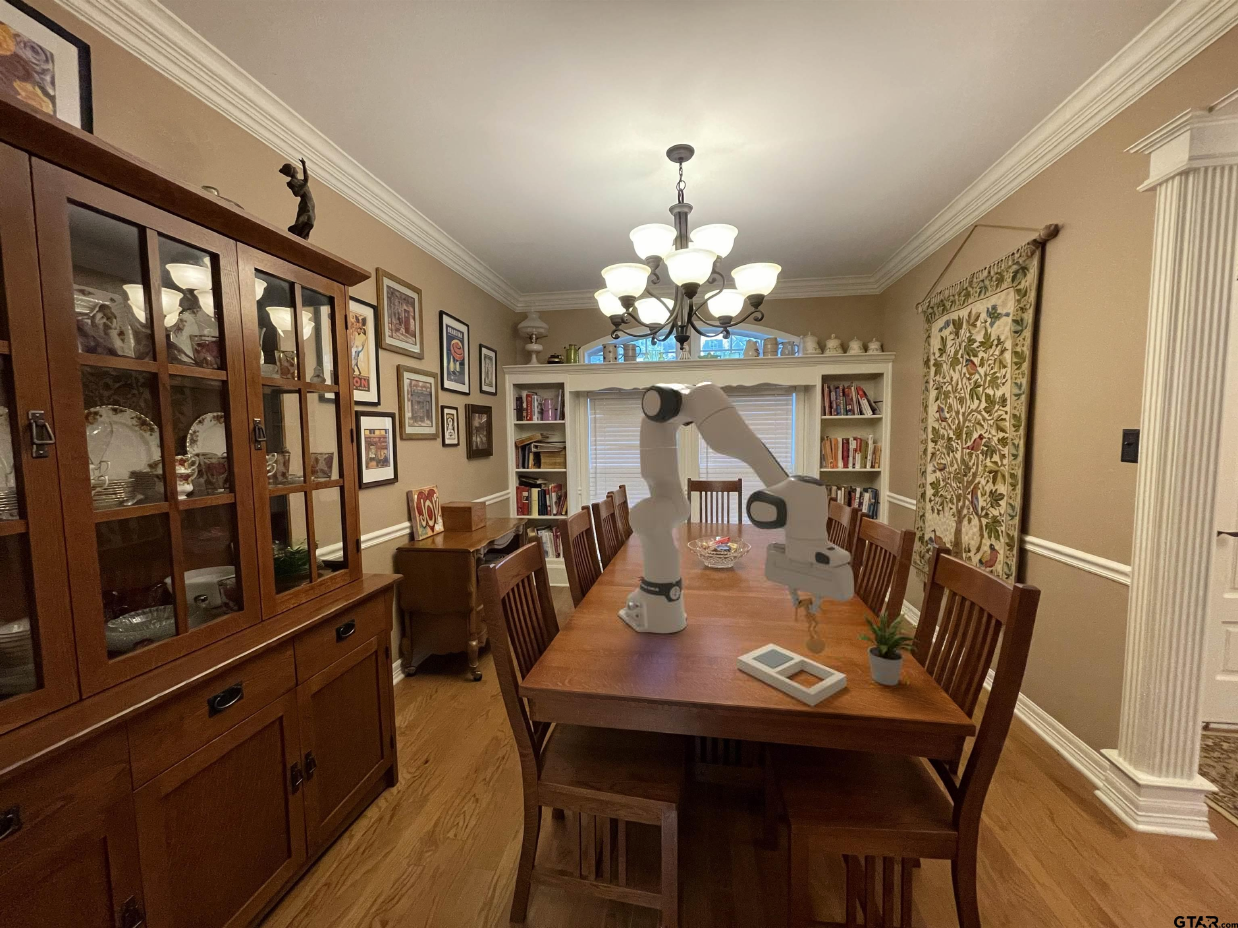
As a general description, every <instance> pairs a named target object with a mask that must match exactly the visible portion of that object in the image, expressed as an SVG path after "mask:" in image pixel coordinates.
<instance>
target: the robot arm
mask: <svg viewBox="0 0 1238 928" xmlns="http://www.w3.org/2000/svg"><path fill="white" fill-rule="evenodd" d="M641 409H642V410H641V411H642V413H643V416H642V419H641V422H640V429H639V458H640V459H639V461H640V462H639V466H640V476H641V477H642V479H643V480H644V481H645V483H646V485H647V487H648V490H649V494H650V496H649V497H645V498H642V499H640V500H639V501H638V502H636V503H635V504H634V505H633V506H632V507H630V510H629V511H628V523H629V527H630V528H631V529H632V531H633V532H634V533H635V534H636V535H637V538H638V540H639V542H640V543H639V544H640V547H641V551H642V568H643V573H642V574H643V575H642V576H639V577H637V579H638V580H637V581H638V582H640V583H639V587H638V588H637V589H636V590H634V591H633V592H632V593H630V594H629V595H628V596H627V597H626V601H625V607H624V608H622V609H620V610H619V611H618V616H619V617H620V618H621V619H622V620H623V621H624V622H625V623H627V624H628V625H629V626H630V627H631V628H632V629H634V630H635V631H636V632H638V633H653V634H654V633H655V634H670V633H676V632H680V631H682V630H684V629H685V628H686V627H687V622H686V621H687V620H686V619H687V617H688V616H687V613H686V612H685V604H684V595H683V592H682V590H683V578H682V576H681V552H680V549H678V547H677V546H676V544H675V541H674V537H673V530H674V529H677V528H679V527H681V526H682V525H683V524H685V522H687V520H688V519H689V518H690V516H691V513H692V506H691V502H690V500H689V499H688V498H687V497H686V495H685V492H684V489H683V487H682V482H681V479H680V473H679V472H680V471H679V456H678V440H677V439H678V438H677V433H678V430H679V428H680V426H684V427H688V426H690V425H693V424H694V426H695V427H696V429H697V431H698V433H699V435H700V436H701V438H702V440H703V441H704V443H705V444H706V445H707V446H708V447H709V448H710V449H711V450H712V451H714V452H715V453H716V454H718V455H719V454H720V455H722V456H726V457H729V458H734V459H736V460H739V461H741V462H743V463H745V464H746V465H748V466H749V467H750V468H751V469H752V470H753V472H754V473H755V474H756V476H757V478H759V480H760V481H761V482H762V484H763V485H764V488H762V489H761V488H760V489H758V490H756V491H754V492H752V493H751V494H750V495H749V496H748V498H747V500H746V503H745V511H746V512H745V513H746V516H747V518H748V521H749V522H750V523H751V524H752V525H753V526H754V527H755V528H757V529H761V530H767V531H770V530H771V531H772V530H777V529H781V530H783V531H784V536H785V537H784V542H785V543H778V542H776V541H773V542H770V543H769V544H768V545H767V546H766V558H765V563H764V570H763V571H764V572H763V573H764V577H765V579H766V580H767V581H769V582H772V583H775V584H778V585H782V586H784V587H787V591H788V593H789V596H790V598H791V599H792V607H793V608H796V606H798V605H799V604H800V603H801V602H802V599H803V598H800V595H799V593H798V591H803V592H806V593H809V594H812V599H814V600H813V602H814V603H812V604H809V612H812V613H815V615H816V614H818V613H819V612H820V608H819V605H820V606H821V604H822V603H823V601H824V599H825V598H827V599H830V600H833V601H837V602H840V603H844V602H847V601H849V600H852V598H853V597H854V594H855V582H854V572H853V568H852V567H851V565H849V564H848V563H849V562H851V559H852V558H851V557H852V556H851V553H850V552H849V551H847V550H845V549H844V548H841V547H839V546H838V545H836V544H834V543H832V542H831V541H829V534H828V531H827V522H828V520H829V502H828V501H829V500H828V493H827V487H826V484H825V483H824V482H823V481H822V480H820V479H819V478H816V477H814V476H809V475H803V474H794V475H789V474H788V472H787V471H786V469H784V468H783V466H782V464H781V463H780V462H779V461H778V460H777V458H776V457H775V455H774V454H773V453H772V452H771V450H770V449H769V448H768V446H767V445H766V444H765V442H763V441H762V440H761V438H759V436H758V435H757V434H756V433H755V432H754V430H752V429H751V427H750V426H749V425H748V423H746V421H745V420H744V418H743V417H742V415H741V414H740V412H739V411H738V410H737V407H736V406H735V405H734V403H733V402H732V400H731V399H730V398H729V397H728V396H727V394H726V393H725V392H724V391H723V389H721V388H720V387H719V385H717V384H715V383H713V382H711V381H710V382H708V381H706V382H702V383H701V382H700V383H699V384H688V383H683V382H682V383H681V382H677V383H656V384H653V385H651V386H649V387H647V388H646V390H645V391H644V392H643V394H642V397H641ZM801 608H802V607H800V608H799V609H801Z"/></svg>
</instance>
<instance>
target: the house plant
mask: <svg viewBox="0 0 1238 928" xmlns="http://www.w3.org/2000/svg"><path fill="white" fill-rule="evenodd" d="M846 614H848V615H850V613H846ZM868 614H869V615H871V616H872V618H873V619H874V621H875V624H876V625H875V624H874V622H872V620H871V619H870V618H869V615H867V614H865V613H863V612H862V613H860V615H861V616H862V617H863V618H864V619H865V621H864V620H863V618H862V617H860V616H858V615H856V614H853V613H851V615H853V616H856V617H858V618H860V619H861V620H863V621H864V622H865V624H866V625H867V626H868V628H866V629H867V630H868V629H869V630H870V631H871V633H872V635H873V636H874V637H873V638H874V639H875V642H874V641H873V640H872V638H871V637H870V636H868V635H866V634H865V633H859V634H857V636H856V638H859V640H863V641H869V642H871V643H873V645H874V646H870V647H868V649H867V653H868V659H869V665H870V666H869V667H870V671H871V677H872V679H873V681H875V682H877V683H878V684H881V685H884V686H897V685H898V684H899V680H900V674H901V670H902V666H903V661H904V654H903V653H902V652H901V651H899V650H902V651H905V652H907V653H909V654H910V655H911V656H912V655H913V654H912V651H911V649H912V650H914V651H916V652H917V653H919V652H918V648H917V647H915V645H912V644H910V643H906V642H909V641H910V642H911V641H912V642H916V643H917V642H918V643H922V642H921V641H919V640H917V639H916V638H913V637H908V636H904V633H906V634H910V632H909V631H907V630H908V629H909V628H913V627H917V626H919V625H918V624H912V625H909V626H907V627H905V628H903V629H902V630H899V631H898V628H899V627H900V625H902V621H903V618H904V617H905V615H906V614H907V612H905V613H902V614H900V615H898V616H897V617H896V618H895V620H894V621H893V622H892V623H891V624H890V625H889V627H888V614H889V609H886V611H885V615H883V614H882V612H881V611H878V614H879V621H880V625H881V626H880V625H878V622H877V620H876V618H875V617H874V615H873V614H872V613H870V612H868ZM887 627H888V629H887ZM909 648H910V649H909Z"/></svg>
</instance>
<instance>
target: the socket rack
mask: <svg viewBox="0 0 1238 928" xmlns="http://www.w3.org/2000/svg"><path fill="white" fill-rule="evenodd" d="M736 660H737V661H736V663H737V664H736V666H737V669H739V670H740V671H743V672H745V673H746V674H748V675H750V676H752V677H754V678H756V679H758V680H761V682H764V683H766V684H768V685H770V686H772V687H774V688H775V689H778V690H780V691H781V692H783V693H786V695H789V696H792V697H794V698H795V699H798V700H799V701H801V702H803V703H806V704H807V705H809V706H810V707H814V706H815V705H817V704H819V703H821V702H822V701H824V700H825V699H827V698H830V696H832V695H834V694H835V693H837V692H839V691H841V690H843V689H844V688H845V687H847V675H846V674H845V673H842V672H839V671H836V670H834V669H832V668H831V667H827V666H825V665H823V664H820V663H818V662H815V661H814V660H812V659H809V658H806V657H804V656H802V655H799V654H797V653H795V652H792V651H790V650H788V649H785V648H782V647H781V646H778V645H777V644H773V643H769V644H766V645H764V646H762V647H760V648H757V649H754V650H752V651H750V652H748V653H745V654H742V655H741V656H738V657H737V659H736ZM802 670H803V671H805V672H806V673H809V674H812V675H813V676H816V677H818V678H820V679H822V681H820V682H818V683H817V684H815V685H813V686H811V687H810V688H807V687H805V686H804V685H801V684H799V683H797V682H795V681H793V680H790V679H789V678H788V677H789V676H793V674H796V673H798V672H800V671H802Z"/></svg>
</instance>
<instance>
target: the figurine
mask: <svg viewBox="0 0 1238 928" xmlns="http://www.w3.org/2000/svg"><path fill="white" fill-rule="evenodd" d="M801 599H802V602H801V603H800V604H799V605H798V606H796V607H794V608H795V609H794V610H795V611H794V615H795V617H794V621H795V623H799V618H798V611H799V609H801V608H803V609H804V612H805V614H804V619H805V621H806V624H808V625H807V631H808V633H809V636H808V637H807V638H806V639H805V648H806V649H807V650H808V652H809V653H811V654H813V655H820V654H822V653H824V652H825V649H826V642H825V640H824V638H823V637H821V636H820V635H819V634H818V632H817V630H816V628H817V627H818V626H819V624H820V621H818V619H817V616H816V614H815V613H812V612H809V604H812V603H814V600H813V597H805V598H804V597H803V598H801ZM800 607H801V608H800ZM819 611H821V612H822V613H823V615H825V618H828V616H827V614H826V612H825V610H824V609H823V608H822V606H821V604H820V605H819ZM812 622H813V623H814V624H813V623H812ZM811 628H812V630H813V632H814V634H813V633H812V630H811Z"/></svg>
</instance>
